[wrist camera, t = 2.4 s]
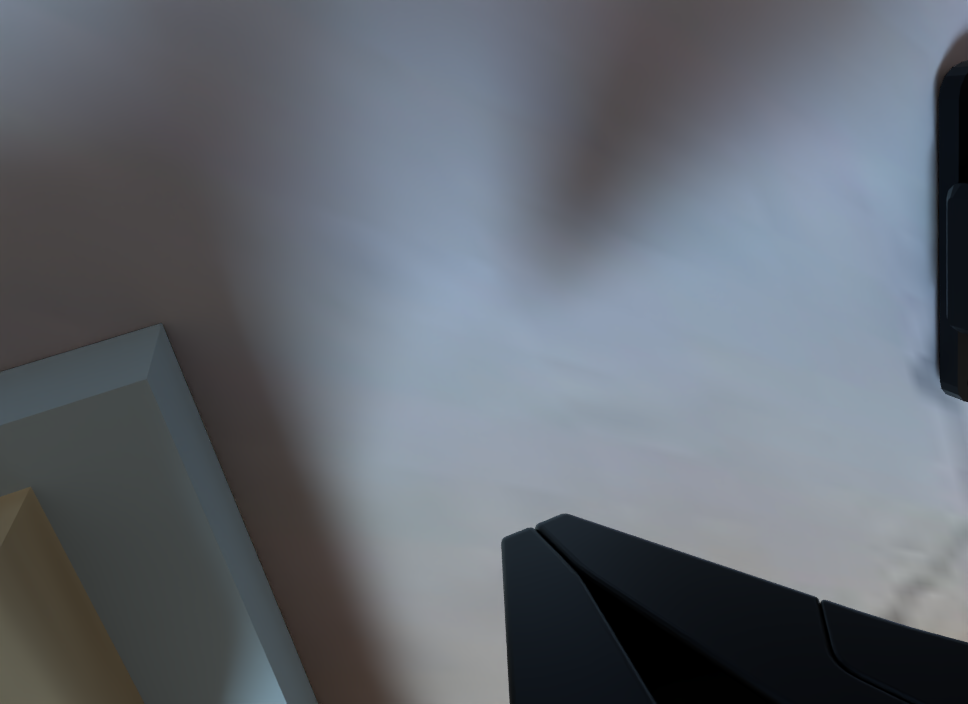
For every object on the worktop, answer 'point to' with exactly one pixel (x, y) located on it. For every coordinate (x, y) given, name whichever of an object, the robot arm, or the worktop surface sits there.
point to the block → (50, 619)
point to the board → (148, 521)
